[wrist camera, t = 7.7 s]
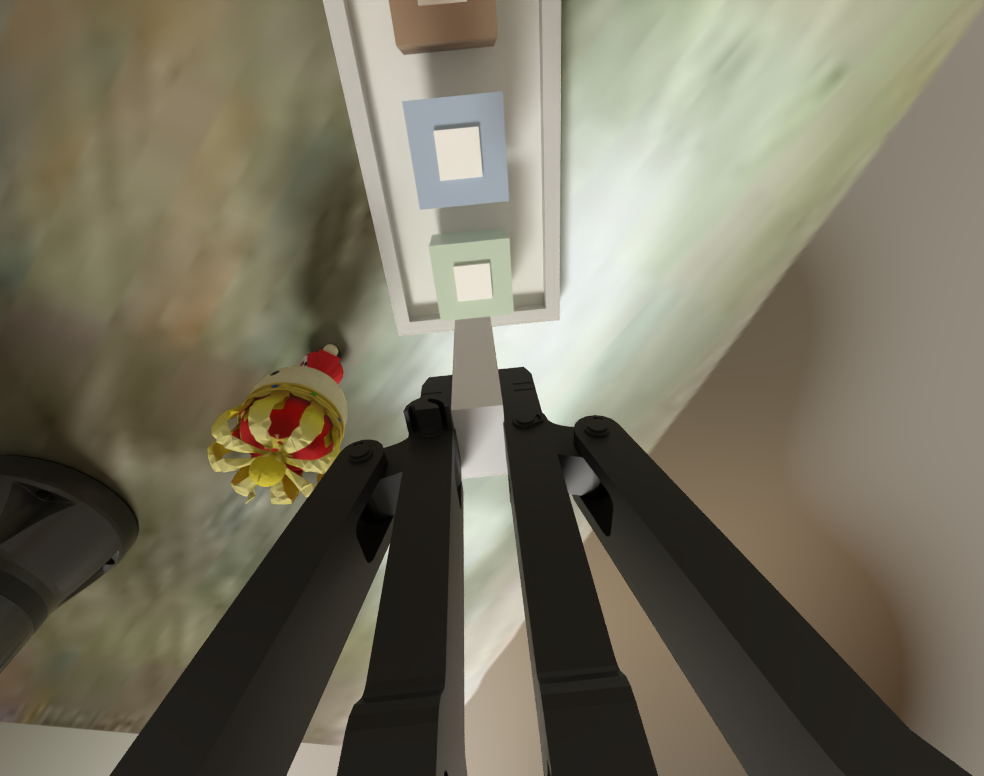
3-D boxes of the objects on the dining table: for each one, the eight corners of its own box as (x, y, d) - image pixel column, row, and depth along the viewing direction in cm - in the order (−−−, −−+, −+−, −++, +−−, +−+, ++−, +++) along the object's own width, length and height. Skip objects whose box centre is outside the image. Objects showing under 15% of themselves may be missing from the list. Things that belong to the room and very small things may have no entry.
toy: (300, 304, 31) (187, 427, 18) (388, 348, 33) (342, 484, 21) (270, 374, 34) (156, 521, 21) (353, 410, 36) (295, 562, 24)
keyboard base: (402, 324, 32) (398, 335, 31) (248, -380, 16) (223, -439, 14) (554, 309, 32) (559, 319, 31) (553, -410, 16) (563, -472, 15)
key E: (442, 304, 29) (440, 322, 27) (431, 234, 27) (428, 246, 24) (509, 297, 29) (514, 315, 27) (505, 227, 27) (509, 238, 24)
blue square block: (424, 201, 25) (419, 210, 22) (409, 104, 22) (401, 100, 19) (504, 193, 25) (509, 201, 22) (498, 95, 22) (503, 90, 19)
